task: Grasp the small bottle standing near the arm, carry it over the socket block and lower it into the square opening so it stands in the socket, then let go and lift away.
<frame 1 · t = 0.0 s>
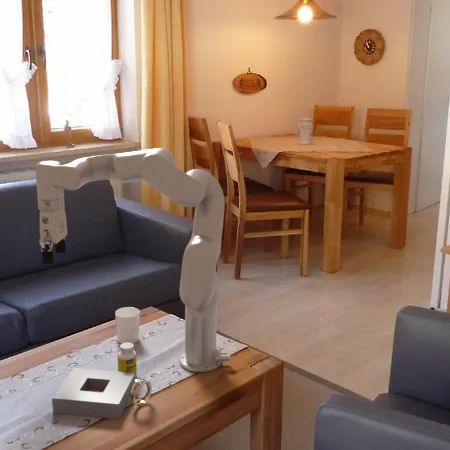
hand: (54, 258, 191), 31 cm above the table, tool pointing down, fingers open, 9 cm apart
white cup: (128, 340, 208), on the table
socket block: (95, 399, 174), on the table
supplement bottle: (127, 375, 187), on the table
ring: (141, 405, 172), on the table
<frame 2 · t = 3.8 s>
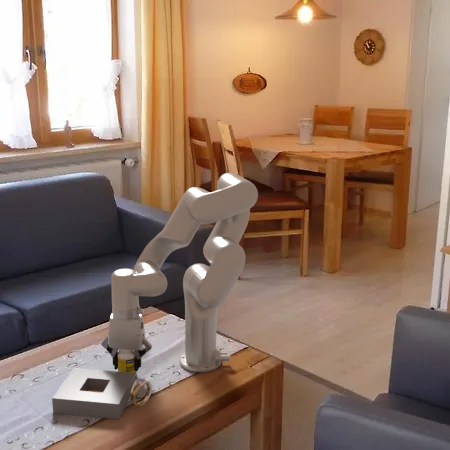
hand: (127, 367, 186), 3 cm above the table, tool pointing down, fingers closed on supplement bottle, 5 cm apart
supplement bottle: (127, 375, 187), on the table, touching gripper
everything else where it was.
when the fingers open (6 cm above the table, at t = 8.7 s): supplement bottle drops 3 cm, resting on socket block.
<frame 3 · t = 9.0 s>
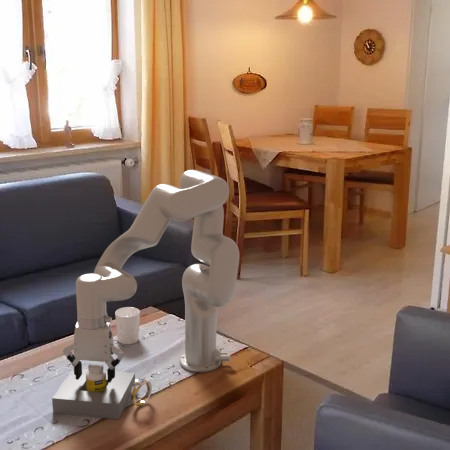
hand: (94, 378, 172), 7 cm above the table, tool pointing down, fingers open, 8 cm apart
supplement bottle: (96, 397, 174), point 1 cm above the table, touching socket block
everything else where it was.
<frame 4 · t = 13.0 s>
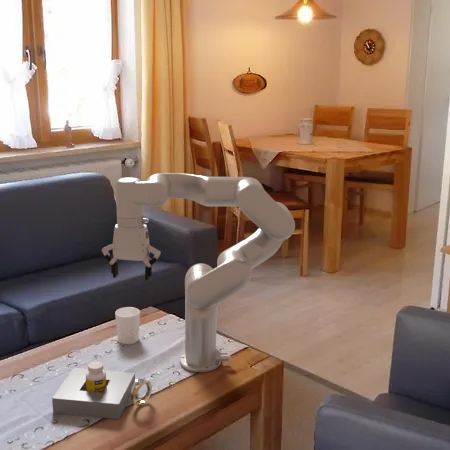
hand: (131, 277, 185), 28 cm above the table, tool pointing down, fingers open, 9 cm apart
nothing on the table moved.
at the end: supplement bottle 0.3 cm off-centre on the socket block, point 0.6 cm above the socket block's base; supplement bottle tilted 0°; the gripper is holding nothing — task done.
